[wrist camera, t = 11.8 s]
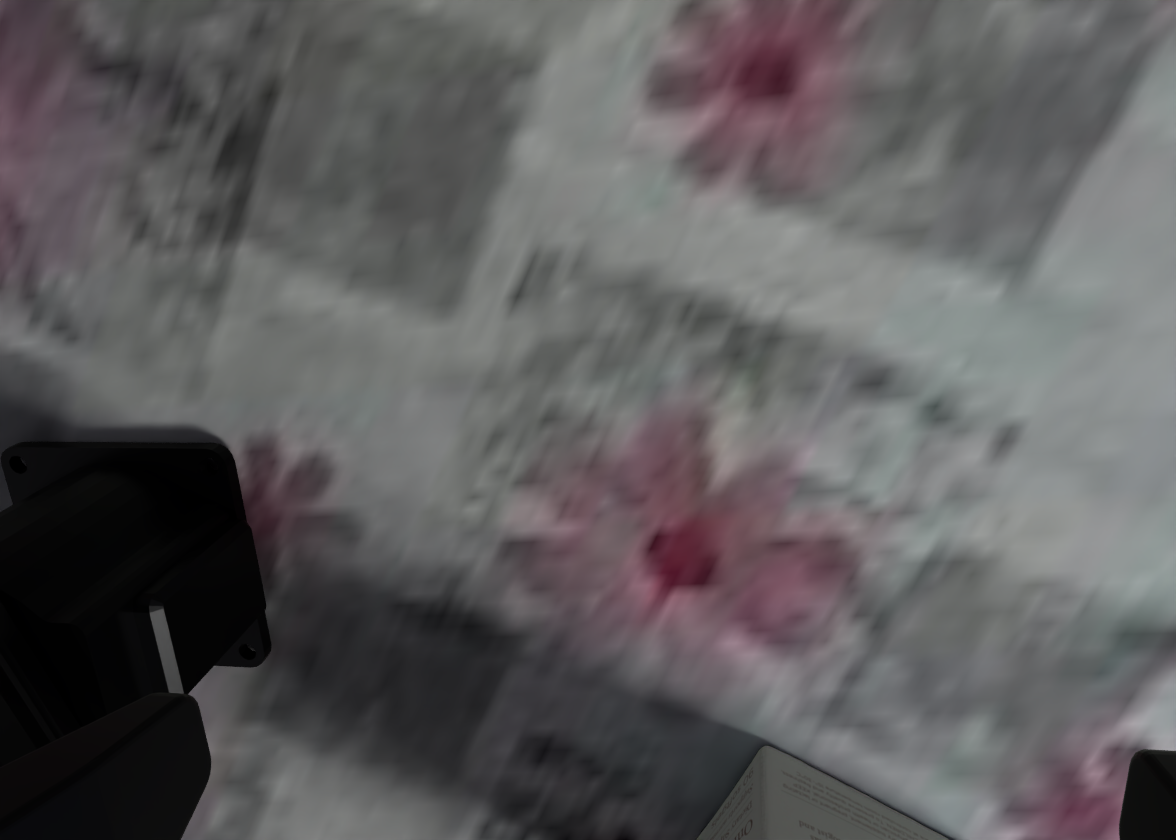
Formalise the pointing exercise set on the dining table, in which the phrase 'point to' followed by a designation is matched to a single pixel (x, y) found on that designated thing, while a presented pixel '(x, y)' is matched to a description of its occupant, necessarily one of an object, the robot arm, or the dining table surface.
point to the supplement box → (804, 807)
